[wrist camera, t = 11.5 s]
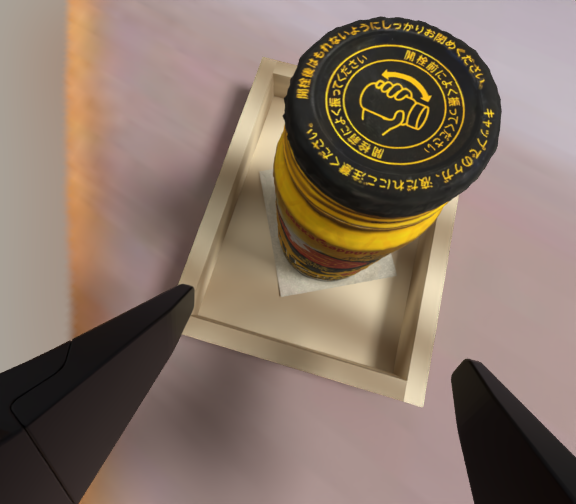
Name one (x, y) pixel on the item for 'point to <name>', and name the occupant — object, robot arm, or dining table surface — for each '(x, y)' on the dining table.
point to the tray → (317, 304)
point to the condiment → (374, 148)
